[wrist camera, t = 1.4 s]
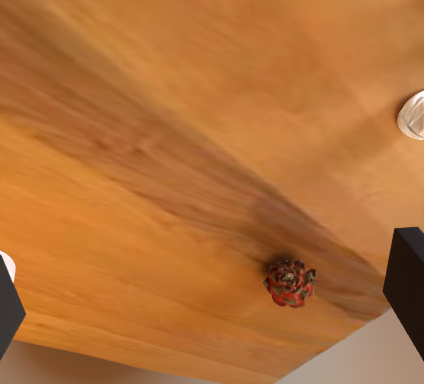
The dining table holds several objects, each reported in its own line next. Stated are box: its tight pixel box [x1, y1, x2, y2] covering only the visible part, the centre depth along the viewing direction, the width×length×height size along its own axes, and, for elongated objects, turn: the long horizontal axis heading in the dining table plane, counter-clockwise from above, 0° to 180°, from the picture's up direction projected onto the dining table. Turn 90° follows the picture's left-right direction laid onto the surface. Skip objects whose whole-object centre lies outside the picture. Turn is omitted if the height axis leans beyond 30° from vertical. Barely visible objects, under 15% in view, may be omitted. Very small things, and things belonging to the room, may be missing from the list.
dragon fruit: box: [263, 260, 317, 308], centre depth 67 cm, size 8×8×12 cm
